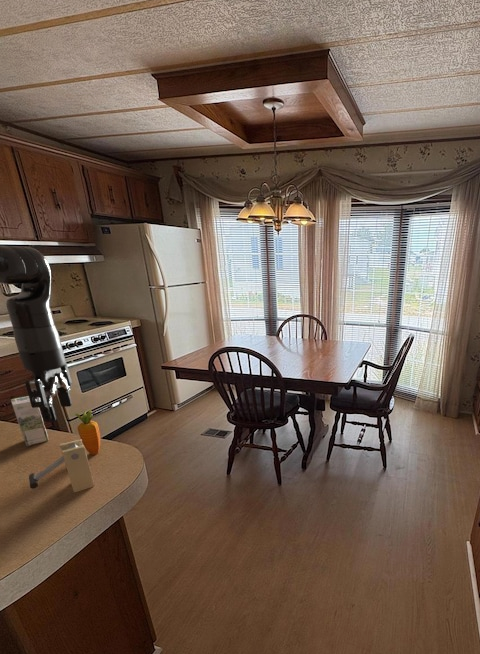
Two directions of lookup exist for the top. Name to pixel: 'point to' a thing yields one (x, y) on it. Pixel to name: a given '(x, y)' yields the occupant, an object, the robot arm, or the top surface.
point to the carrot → (89, 433)
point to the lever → (46, 471)
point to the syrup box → (29, 421)
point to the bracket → (77, 465)
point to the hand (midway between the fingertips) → (59, 413)
